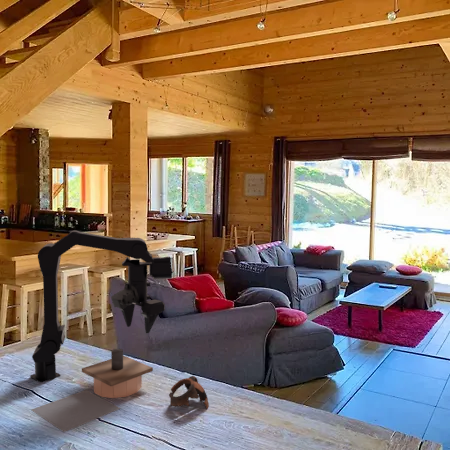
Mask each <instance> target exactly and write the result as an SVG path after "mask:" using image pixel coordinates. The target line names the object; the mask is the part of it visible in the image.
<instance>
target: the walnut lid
mask: <svg viewBox="0 0 450 450" xmlns="http://www.w3.org/2000/svg"><path fill="white" fill-rule="evenodd" d="M110 355H111V358H110V359H106V360H104V361H101V362H98V363H94V364H91V365H88V366H84V367H82V368H81V372H82V373H83V374H86V375H88V377H91V378H95V379H97V380H99V381H101V382H103V383H105V384H107V385H109V386H114V385H117V384H119V383H122V382H125V381H127V380H130V379H133V378H135V377H138V376H141V375H142V376H143V375H146V374H149V373H152V372H154V368H153V367H152V366H150V365H147V364H145V363H142V362H140V361H139V360H138V361H137V360H135V359H133V358H130V357H128V356H125V355H124V349H122V348H115V349H112V350H111V353H110Z"/></svg>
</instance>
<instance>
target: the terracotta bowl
mask: <svg viewBox="0 0 450 450" xmlns="http://www.w3.org/2000/svg"><path fill="white" fill-rule="evenodd" d="M142 376H143V375H141V376H138V377H135V378H133V379H130V380H127V381H125V382H122V383H119V384H117V385H114V386H109V385H107V384H105V383H103V382H101V381H99V380H97V379H95V378H93V377H92V378H93V394H95V395H97V396H99V397H101V398H109V399H117V398H126V397H129V396H131V395H134V394H137V393H138V392H139V390H141V389H142V386H143V383H142V379H143V377H142Z"/></svg>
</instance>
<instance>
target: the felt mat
mask: <svg viewBox="0 0 450 450" xmlns="http://www.w3.org/2000/svg"><path fill="white" fill-rule="evenodd" d="M120 409H122V408H121V407H120V406H117V405H115V404H114V403H111V402H110V401H108V400H106V399H104V397H101V396H99V395H97V394H96V393H94V392H91V391H89V390H87V389H85V390H82V391H79V392H77V393H76V392H75V393H73V394H71V395H67V396H66V397H62V398H59V399H57V400H54V401H51V402H48V403H45V404H42V405H39V406H37V407H35V408H32V409H31V411H32V412H34V413H35V414H36V415H38V416H39V417H41V418H42V419H44V420H46V421H47V422H48V423H50V424H51V425H53V426H54V427H56V428H57V429H58V430H60V431H62V432H63V433H66V432H68V431H71V430H73V429H75V428H78V427H79V426H82V425H84V424H87V423H90V422H92V421H94V420H97V419H99V418H102V417H104V416H106V415H108V414H111V413H114V412H115V411H116V412H117V411H118V410H120Z"/></svg>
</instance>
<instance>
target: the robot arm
mask: <svg viewBox="0 0 450 450" xmlns="http://www.w3.org/2000/svg"><path fill="white" fill-rule="evenodd" d="M75 246H81V247H88V248H94V249H98V250H99V249H100V250H105V251H106V250H107V251H112V252H117V253H119V254H121V255H123V256H126V257H125V259H124V260H123V261H122V262H121V266H122V267H127V272H128V273H127V276H128V277H127V282H125V284H124V288H123V289H121V290H119V292H116V293H114V294H113V295H112V296H111V297H110V298H111V301H112V304H113V307H114V308H118V309H120V312H121V313H122V315H123V318H124V321H125V324H126V327H128V328H129V327H131V325H132V321H133V317H134V312H135V311H134V310H135V307H136V306H137V307H140V310H141V311H142V312H140V314H141V315H142V316H143V317H144V329H145V331H144V332H145V334H149V333H151V330H152V328H153V326H154V325H155V321H156V320H157V318H158V317H159V315H160V314H161V313H162V312H164V311H165V305H166V304H165V303H164V302H163V301H162V300H159V299H151V295H148V287H151V282H149V281H148V275H149V277H151V278H152V279H153V280H168V279H170V280H171V279H173V268H172V258H171V256H164V257H161V256H160V257H159V256H158V257H153V254H152V253H150V252H149V249H148V245H147V242H146V241H145V239H143V238H140V237H112V236H105V235H100V234H96V233H95V234H94V233H88V232H82V231H79V230H76V229H74V230H71V231H70V232H68V234H67V235H65V236H63V237H62V238H60V239H59V240H57V241H55V242H54V243H53V242H49V243H47V244H45V245H43V246H42V247H41V248H40V249H39V251H38V253H37V260H38V264H39V268H40V272H41V275H42V286H43V288H42V289H43V293H42V294H43V326H42V327H43V328H42V332H41V335H40V336H41V338H40V343H39V344H38V345H36V347H35V349H34V352H33V354H32V356H31V358H32V360H33V362H34V374H30V375H29V376H30V377H29V378H31V379H32V380H35V381H36V382H37V383H43V382H46V381H50V380H52V379H55V378H59V377H61V374H60V373H58V372H56V371H57V369H56V354H57V353H59V351H60V350H61V347H62V345H64V342H65V339H66V335H65V328H66V327H65V326H66V325H65V324H62V325H61V323H60V320H59V292H58V290H59V289H58V286H59V283H58V274H59V268H60V264H61V260H62V259H61V257H62V255H64V254H65V253H67V251H70V250H71V249H72V248H73V247H75ZM130 258H131V259H130ZM140 260H142V261H140ZM148 266H149V267H148ZM148 273H149V274H148Z"/></svg>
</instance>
